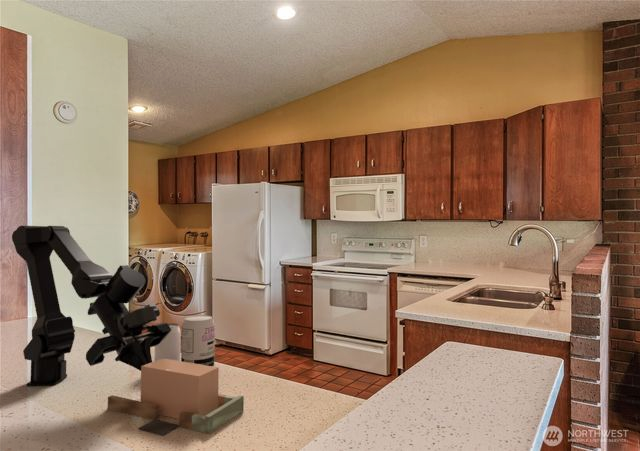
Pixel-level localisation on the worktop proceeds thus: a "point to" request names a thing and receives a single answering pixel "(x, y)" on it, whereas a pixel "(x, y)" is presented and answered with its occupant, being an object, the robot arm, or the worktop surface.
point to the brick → (180, 387)
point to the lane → (206, 424)
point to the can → (169, 345)
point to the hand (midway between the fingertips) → (151, 373)
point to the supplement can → (198, 340)
